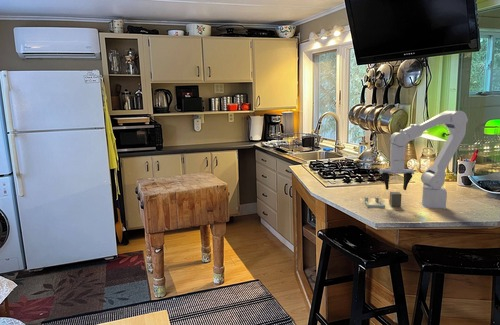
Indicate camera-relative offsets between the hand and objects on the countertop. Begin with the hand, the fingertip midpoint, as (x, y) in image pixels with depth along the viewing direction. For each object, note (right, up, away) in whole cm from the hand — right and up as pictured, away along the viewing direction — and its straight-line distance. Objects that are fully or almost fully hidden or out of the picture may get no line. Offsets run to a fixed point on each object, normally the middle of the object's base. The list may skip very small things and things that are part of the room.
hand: (395, 189), depth 166 cm
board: (-5, -7, +5) cm, 10 cm away
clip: (-8, -6, +9) cm, 14 cm away
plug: (+1, -7, +5) cm, 9 cm away
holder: (-9, -8, +2) cm, 12 cm away
